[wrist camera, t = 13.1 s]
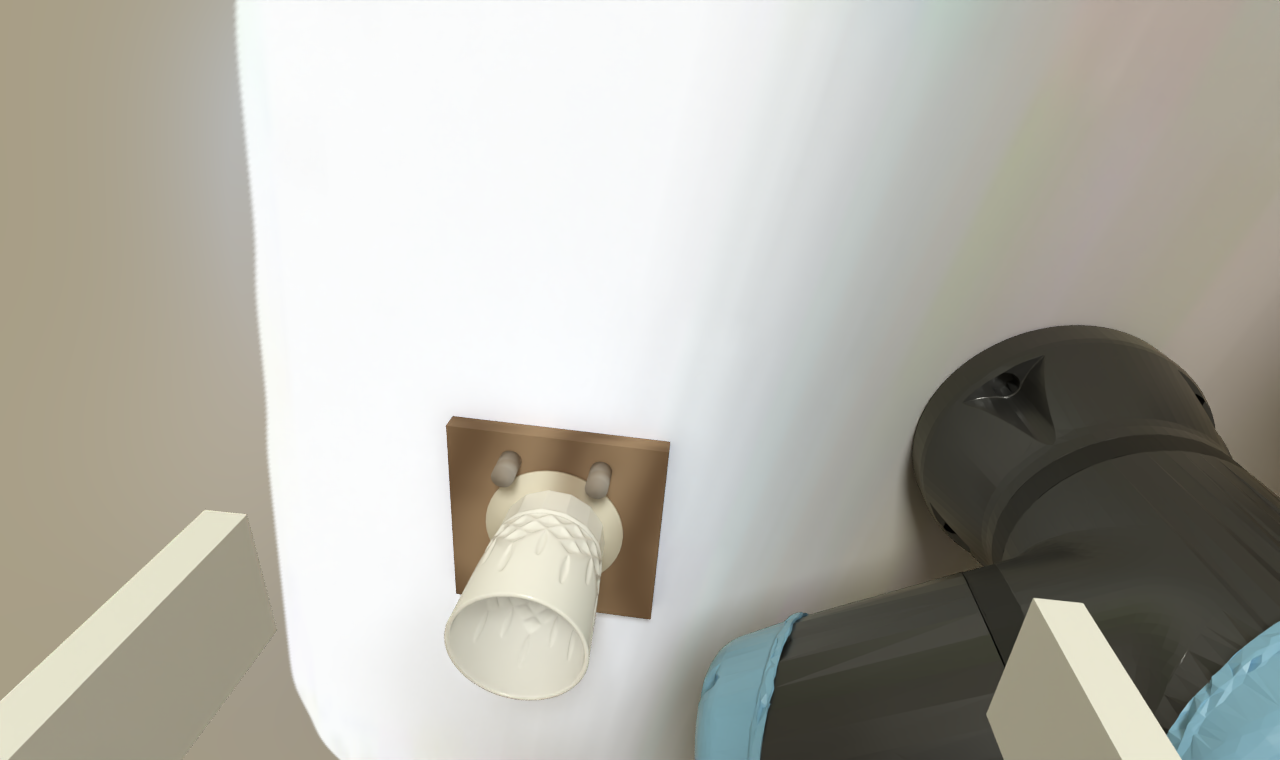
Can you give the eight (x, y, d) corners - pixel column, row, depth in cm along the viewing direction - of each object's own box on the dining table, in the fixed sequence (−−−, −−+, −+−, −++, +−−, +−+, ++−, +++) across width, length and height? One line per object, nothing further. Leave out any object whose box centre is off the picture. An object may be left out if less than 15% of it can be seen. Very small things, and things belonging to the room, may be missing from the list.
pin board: (670, 442, 44) (666, 470, 41) (651, 606, 50) (647, 641, 47) (452, 416, 45) (434, 442, 42) (461, 581, 51) (446, 614, 48)
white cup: (492, 564, 48) (441, 685, 39) (501, 470, 44) (446, 580, 36) (604, 586, 48) (579, 713, 39) (622, 494, 44) (598, 611, 35)
